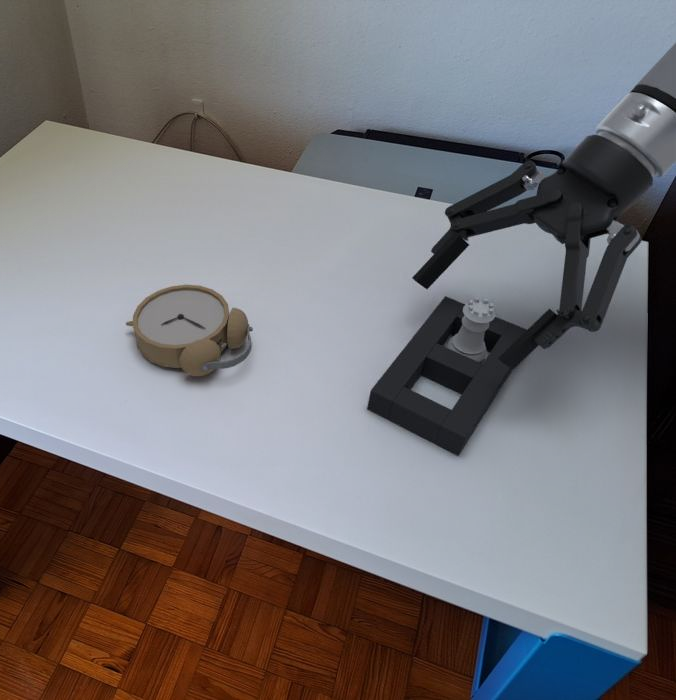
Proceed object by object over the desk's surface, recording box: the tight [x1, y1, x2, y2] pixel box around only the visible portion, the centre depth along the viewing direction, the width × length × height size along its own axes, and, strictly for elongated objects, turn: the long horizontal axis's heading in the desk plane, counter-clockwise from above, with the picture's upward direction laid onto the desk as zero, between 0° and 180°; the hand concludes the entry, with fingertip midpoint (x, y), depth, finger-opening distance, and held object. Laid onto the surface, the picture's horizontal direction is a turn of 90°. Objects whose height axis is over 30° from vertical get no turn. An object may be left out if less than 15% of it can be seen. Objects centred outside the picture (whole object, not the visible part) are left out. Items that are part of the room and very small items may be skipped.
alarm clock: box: [125, 284, 254, 377], centre depth 79 cm, size 11×5×15 cm
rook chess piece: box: [445, 296, 496, 364], centre depth 74 cm, size 4×4×8 cm
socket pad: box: [366, 295, 528, 456], centre depth 74 cm, size 10×18×3 cm, turn 142°
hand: (459, 321), depth 71 cm, fingers open, 13 cm apart
